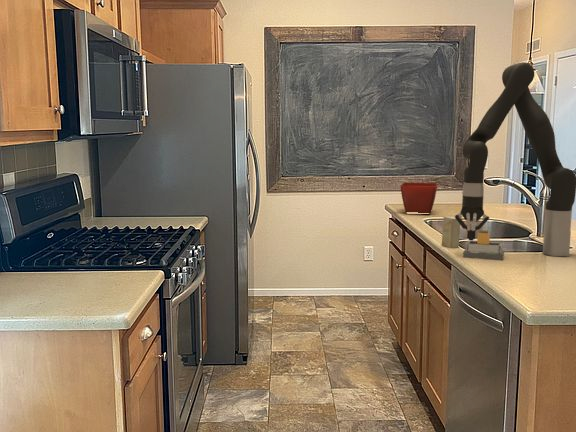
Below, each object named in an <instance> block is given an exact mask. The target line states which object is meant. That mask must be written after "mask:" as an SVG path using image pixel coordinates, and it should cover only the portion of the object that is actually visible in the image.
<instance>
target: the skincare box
mask: <svg viewBox="0 0 576 432" xmlns="http://www.w3.org/2000/svg"><path fill="white" fill-rule="evenodd" d="M442 218H443V219H442V221H443V222H442V234H441V246H443V247H446V248H449V249H456V248H460V247H459V246H460V232H461V225H460V224H459V222H458V221H457V220H456V218H455V216H452V215H451V216H450V215H449V216H448V215H447V216H443V217H442Z"/></svg>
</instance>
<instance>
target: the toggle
mask: <svg viewBox="0 0 576 432" xmlns="http://www.w3.org/2000/svg"><path fill="white" fill-rule="evenodd" d="M490 233H491V231H489V230H481V229H479V231H478V232H477V236H476V237H477V238H476V239H477V244H485V245H489V242H490V237H491V236H490V235H491V234H490Z"/></svg>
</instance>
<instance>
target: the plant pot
mask: <svg viewBox="0 0 576 432" xmlns="http://www.w3.org/2000/svg"><path fill="white" fill-rule="evenodd" d="M438 185H439V184H438V182H403V183H402V184H400V192H401V199H402V203H403V207H404V210H405V213H406V212H418V213H430V214H431V213H432V211H433V207H434V203H435V199H436V195H437V189H438ZM431 210H432V211H431Z"/></svg>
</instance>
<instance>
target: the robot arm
mask: <svg viewBox="0 0 576 432" xmlns="http://www.w3.org/2000/svg"><path fill="white" fill-rule="evenodd" d="M534 78H535V70H534V67H533V66H532V64H530V63H528V62H517V63H514V64H512V65H509V66H508V67H506V68H504V70H503V72H502V74H501V80H502V84H503V86H504V89H503V90H502V92H501V93H500V95H499V96H498V97H497V99H496V100H495V101H494V102H493V104H492V105H491V106H490V107H489V109H488V110H487V111H486V112H485V114H484V115H483V117H482V119H481V120H480V122H479V124H478V126H477V128H476V129H475V130H474V131H473V132H472V134H471V135H469V137H468V138H467V140H465V143H464V144H463V146H462V151H461V152H462V155H463V157H464V158H465V159H467V160H468V161H469V162H468V166H467V167H465V169H464V171H463V185H462V186H463V187H462V201H461V202H462V203H461V205H462V206H461V210H460V212H459V213H458V214H455V215H454V217H455V218H456V220H457V221H458V222H459V224H460V227H461V228H462V229H464V230H467V231H466V233H467V237H466V238H467V239H468V241H474V240H475V239H476V232H477V231H478V230H479V231H480V230H481V228H482V227H483V226H484V225H485V224H486V223H487V222H488V221H489V219H490V216H489V215H487V214H485V211H484V193H485V192H484V191H485V189H484V175H485V173H484V172H485V168H486V165H487V162H488V157H489V148H488V146H487V142H488V141H490V140H492V139H493V138H495V136H496V135H497V133H498V132H499V129H500V127H502V125H503V123H504V121H505V119H506V117H507V116H508V114H509V113H510V111H511V110H512V108H513V107H515V109H516V112H517V114H518V118H519V120H520V122H521V125H522V127H523V130H524V132H525V135H526V137H527V139H528V141H529V143H530V145H531V148H532V150H533V153H534V155H535V157H536V159H537V162H538V164H539V168H540V171H541V175H542V177H543V181H544V184H545V186H546V187H547V188H548V189H549V191H550V192H549V198H548V200H547V201H546V202H545V207H544V208H545V209H544V210H545V211H544V226H543V227H544V228H543V241H542V242H543V243H542V254H543V255H547V256H550V257H551V256H552V257H570V252H571V251H570V250H571V249H570V247H571V234H572V233H571V232H572V231H571V228H572V216H573V215H572V212H573V206H574V204H575V200H576V173H575V172H574V171H573V170H572V169H570V168H568V167H567V168H566V167H564V166H563V165H562V162H561V160H560V158H559V156H558V152H557V148H556V135H555V131H554V127H553V126H552V123H551V121H550V118H549V116H548V114H547V112H545V110H544V109H543V108H542V106H541V105H540V104H539V103H538V102H537V101H536V100H535V99H534V97H533V95H532V93H531V90H530V88H529V86H530V85H531V84H532V83H533V81H534ZM463 218H464V220H465V221H466V223H465V221H464V220H463ZM480 219H481V222H480V223H479V224H478V221H479V220H480ZM477 224H478V225H477Z"/></svg>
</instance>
